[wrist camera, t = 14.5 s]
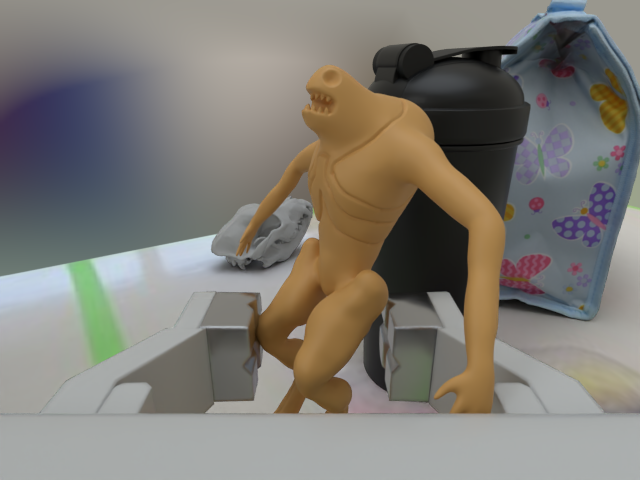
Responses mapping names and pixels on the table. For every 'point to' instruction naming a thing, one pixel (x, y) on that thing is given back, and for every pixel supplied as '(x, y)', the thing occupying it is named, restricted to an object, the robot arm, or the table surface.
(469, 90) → the water bottle
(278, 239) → the skull
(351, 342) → the figurine
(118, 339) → the table surface
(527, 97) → the lunch bag
